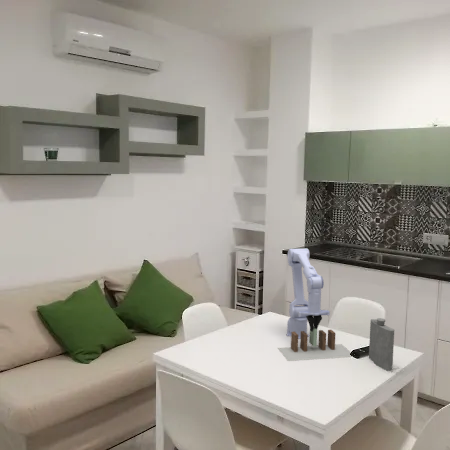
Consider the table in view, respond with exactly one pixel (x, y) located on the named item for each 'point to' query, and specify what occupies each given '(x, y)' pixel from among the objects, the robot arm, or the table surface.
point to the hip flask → (381, 344)
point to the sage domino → (313, 337)
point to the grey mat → (315, 353)
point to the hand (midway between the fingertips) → (313, 330)
